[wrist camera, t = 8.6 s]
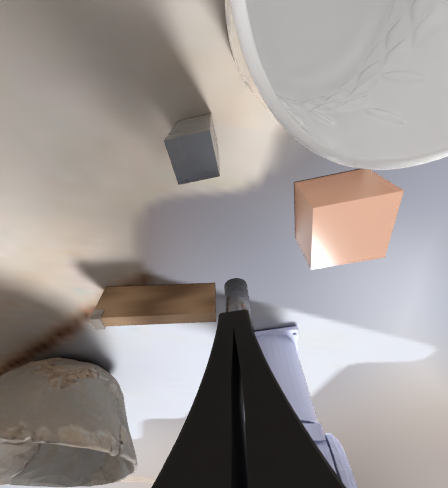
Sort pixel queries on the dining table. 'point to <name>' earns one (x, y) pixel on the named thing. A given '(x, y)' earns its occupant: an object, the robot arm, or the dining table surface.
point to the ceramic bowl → (63, 426)
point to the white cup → (349, 75)
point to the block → (345, 217)
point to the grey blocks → (199, 168)
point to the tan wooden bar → (155, 305)
